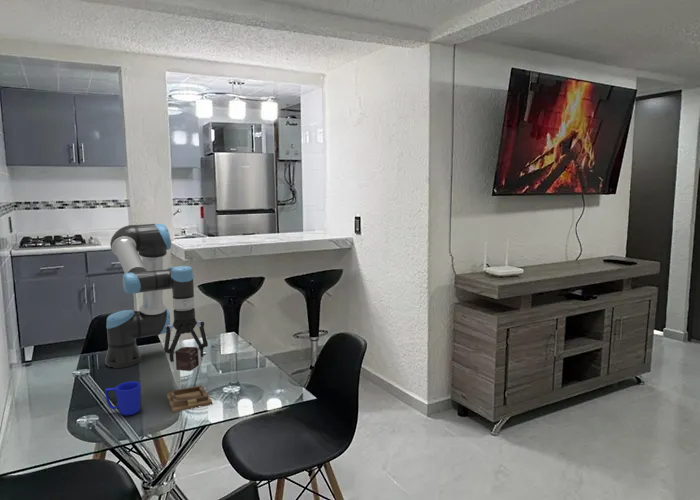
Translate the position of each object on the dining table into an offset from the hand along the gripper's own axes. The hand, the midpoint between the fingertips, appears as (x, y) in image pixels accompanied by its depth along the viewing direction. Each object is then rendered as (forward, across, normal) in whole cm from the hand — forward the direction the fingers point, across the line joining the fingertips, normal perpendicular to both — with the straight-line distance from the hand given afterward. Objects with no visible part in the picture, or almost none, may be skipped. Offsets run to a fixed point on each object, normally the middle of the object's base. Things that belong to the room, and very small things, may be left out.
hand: (187, 367), depth 193 cm
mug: (+13, -22, 0) cm, 26 cm away
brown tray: (+13, 0, 0) cm, 13 cm away
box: (0, 0, 0) cm, 1 cm away
